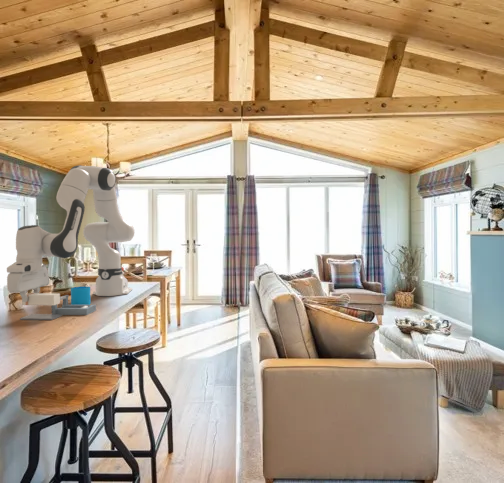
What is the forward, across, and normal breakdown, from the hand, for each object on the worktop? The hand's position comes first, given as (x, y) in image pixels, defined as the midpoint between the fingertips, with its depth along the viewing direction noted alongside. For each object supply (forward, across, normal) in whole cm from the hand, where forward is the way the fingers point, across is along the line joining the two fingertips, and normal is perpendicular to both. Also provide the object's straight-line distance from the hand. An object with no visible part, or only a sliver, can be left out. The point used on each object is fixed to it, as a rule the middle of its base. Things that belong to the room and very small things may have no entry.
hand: (30, 300), depth 142 cm
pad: (+7, 0, +4) cm, 8 cm away
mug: (+7, -25, +8) cm, 28 cm away
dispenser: (+7, -9, +13) cm, 17 cm away
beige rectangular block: (+2, 0, +4) cm, 5 cm away
